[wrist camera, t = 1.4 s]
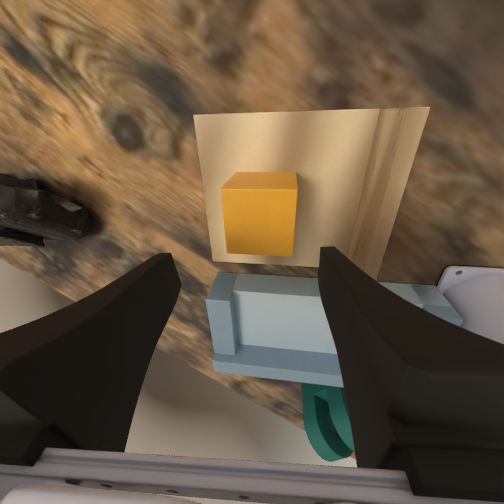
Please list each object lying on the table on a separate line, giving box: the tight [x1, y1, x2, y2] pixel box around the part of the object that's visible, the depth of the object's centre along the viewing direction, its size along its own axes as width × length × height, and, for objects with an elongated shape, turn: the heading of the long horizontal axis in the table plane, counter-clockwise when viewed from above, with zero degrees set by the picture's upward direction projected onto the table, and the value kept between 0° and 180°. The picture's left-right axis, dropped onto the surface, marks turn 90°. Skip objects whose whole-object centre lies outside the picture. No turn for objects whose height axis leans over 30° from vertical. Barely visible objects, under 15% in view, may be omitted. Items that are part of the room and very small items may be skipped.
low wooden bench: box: [193, 107, 430, 280], centre depth 17 cm, size 13×12×6 cm
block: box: [221, 172, 298, 257], centre depth 16 cm, size 4×4×4 cm
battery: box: [0, 173, 90, 248], centre depth 21 cm, size 12×8×7 cm
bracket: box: [302, 383, 355, 462], centre depth 31 cm, size 18×7×8 cm, turn 54°
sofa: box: [206, 272, 463, 388], centre depth 24 cm, size 22×10×6 cm, turn 91°
